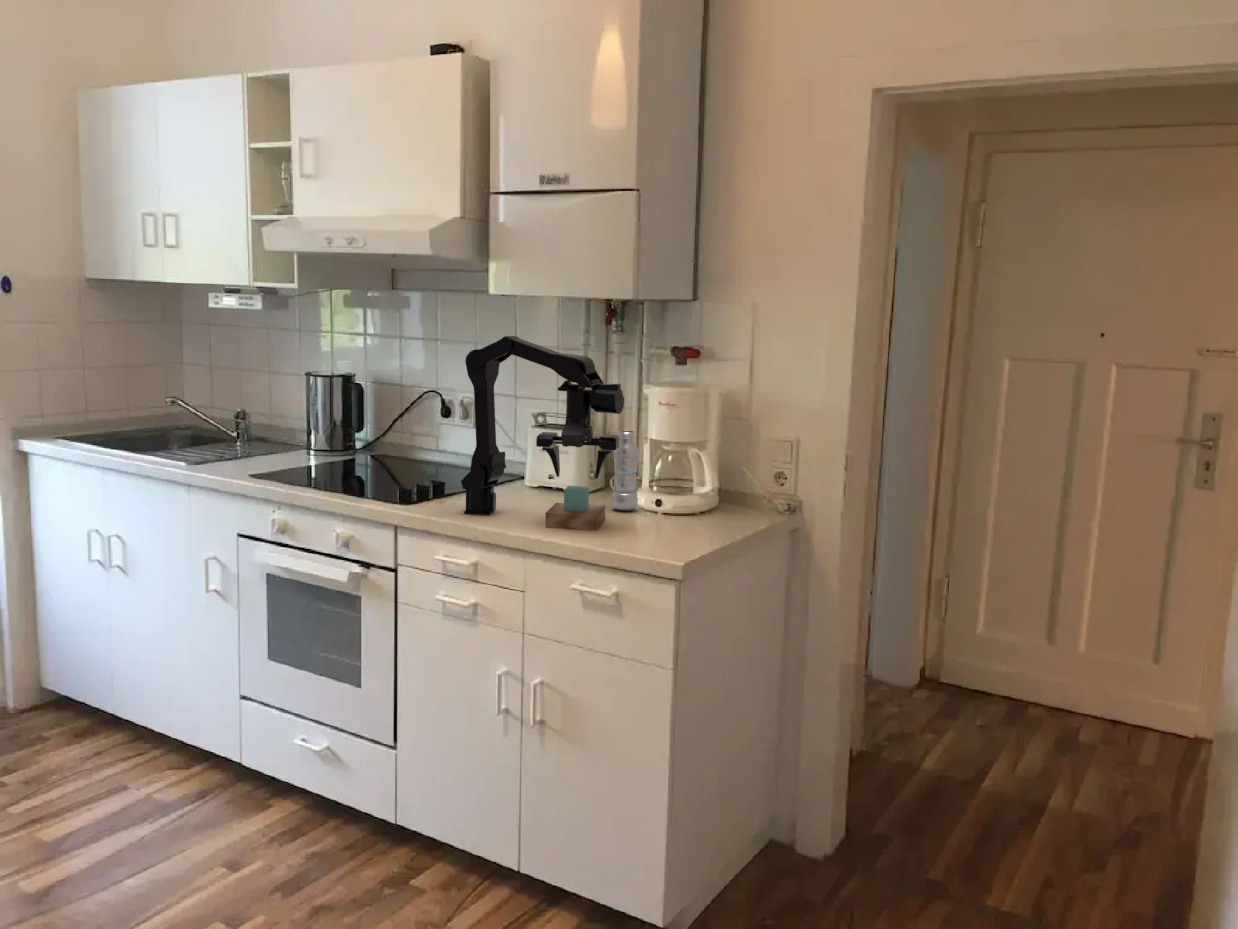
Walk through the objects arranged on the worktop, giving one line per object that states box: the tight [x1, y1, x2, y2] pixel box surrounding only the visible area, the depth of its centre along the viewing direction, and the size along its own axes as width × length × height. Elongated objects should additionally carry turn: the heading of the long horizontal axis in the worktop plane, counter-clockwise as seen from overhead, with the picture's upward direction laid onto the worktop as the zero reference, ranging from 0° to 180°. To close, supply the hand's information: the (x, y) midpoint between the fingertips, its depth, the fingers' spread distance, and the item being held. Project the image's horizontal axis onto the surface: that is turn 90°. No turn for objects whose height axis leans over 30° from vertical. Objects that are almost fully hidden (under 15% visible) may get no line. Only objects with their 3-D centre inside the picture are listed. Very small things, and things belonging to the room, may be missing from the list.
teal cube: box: [563, 485, 590, 512], centre depth 245 cm, size 5×5×5 cm
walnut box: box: [544, 502, 606, 532], centre depth 246 cm, size 12×12×4 cm
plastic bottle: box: [611, 429, 640, 512], centre depth 261 cm, size 6×7×20 cm
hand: (577, 477), depth 244 cm, fingers open, 9 cm apart
